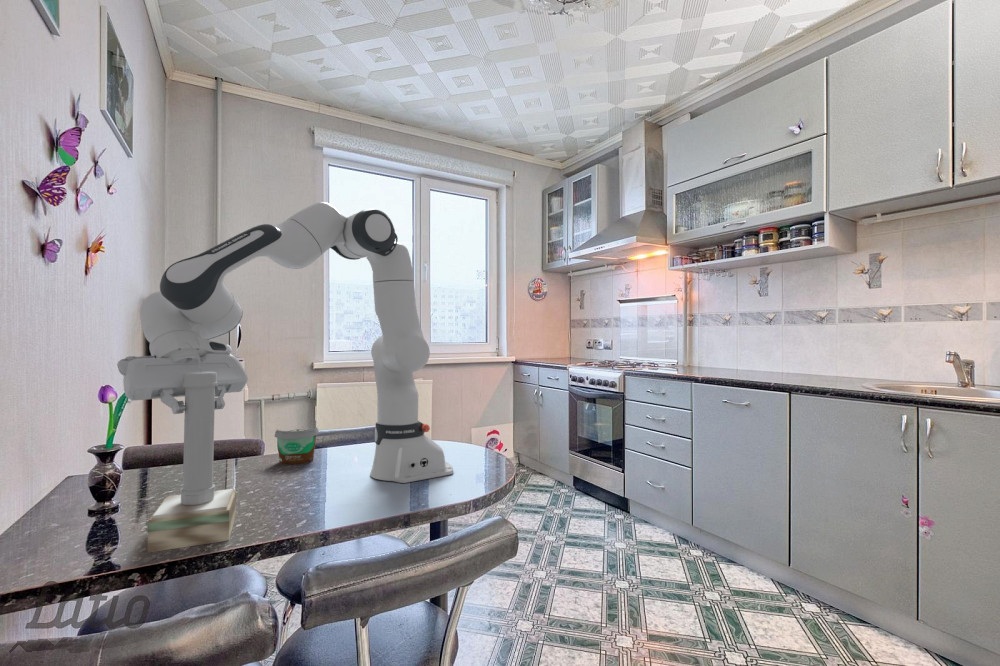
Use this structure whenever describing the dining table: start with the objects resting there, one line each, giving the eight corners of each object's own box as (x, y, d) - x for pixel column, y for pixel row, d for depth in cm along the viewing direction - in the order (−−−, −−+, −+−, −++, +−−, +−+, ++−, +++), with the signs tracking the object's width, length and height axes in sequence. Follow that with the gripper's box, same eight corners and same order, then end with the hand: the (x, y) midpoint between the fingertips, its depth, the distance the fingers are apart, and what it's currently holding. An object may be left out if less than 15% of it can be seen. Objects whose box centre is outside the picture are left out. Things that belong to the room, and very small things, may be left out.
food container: (272, 468, 130) (273, 432, 130) (273, 462, 135) (274, 429, 136) (319, 463, 135) (319, 430, 135) (318, 458, 140) (319, 426, 141)
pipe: (197, 507, 83) (201, 342, 83) (168, 504, 84) (172, 341, 84) (222, 497, 88) (225, 342, 89) (194, 494, 89) (197, 341, 90)
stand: (235, 517, 94) (236, 487, 94) (228, 541, 83) (229, 507, 83) (164, 526, 89) (165, 495, 89) (146, 553, 78) (147, 517, 78)
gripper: (119, 345, 82) (137, 404, 76) (238, 345, 99) (260, 393, 93) (110, 369, 85) (127, 428, 79) (227, 364, 101) (249, 413, 95)
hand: (200, 409), depth 86 cm, fingers closed on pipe, 5 cm apart
